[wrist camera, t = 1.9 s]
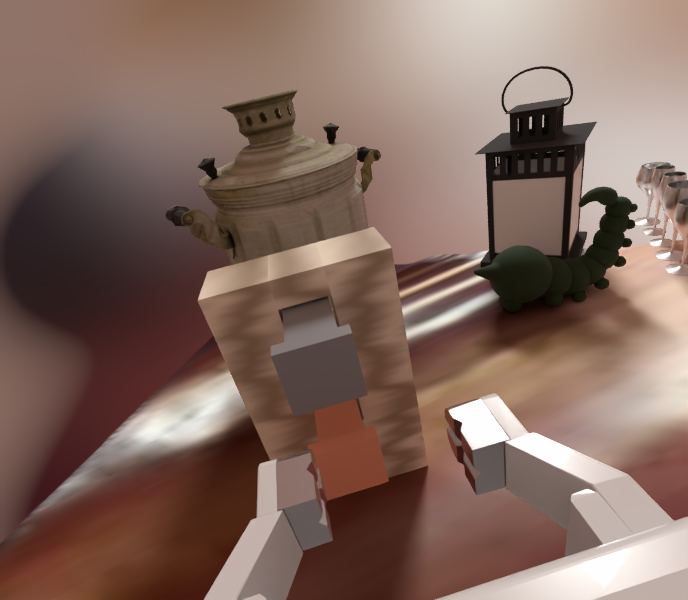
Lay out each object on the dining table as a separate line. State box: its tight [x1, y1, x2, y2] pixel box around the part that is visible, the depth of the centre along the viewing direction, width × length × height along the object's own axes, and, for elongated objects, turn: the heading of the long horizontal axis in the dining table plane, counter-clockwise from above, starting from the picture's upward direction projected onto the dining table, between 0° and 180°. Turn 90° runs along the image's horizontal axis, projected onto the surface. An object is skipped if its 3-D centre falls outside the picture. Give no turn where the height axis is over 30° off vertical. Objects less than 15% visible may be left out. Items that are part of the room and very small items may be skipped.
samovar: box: [165, 89, 381, 309], centre depth 57 cm, size 30×26×40 cm
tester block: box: [198, 227, 428, 478], centre depth 40 cm, size 16×6×27 cm, turn 100°
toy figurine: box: [474, 187, 637, 312], centre depth 63 cm, size 9×19×25 cm
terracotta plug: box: [308, 399, 389, 501], centre depth 36 cm, size 6×9×6 cm, turn 10°
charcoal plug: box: [271, 296, 368, 417], centre depth 31 cm, size 6×9×6 cm, turn 10°
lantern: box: [476, 66, 596, 267], centre depth 75 cm, size 17×17×35 cm
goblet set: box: [634, 162, 688, 276], centre depth 73 cm, size 28×6×13 cm, turn 159°
